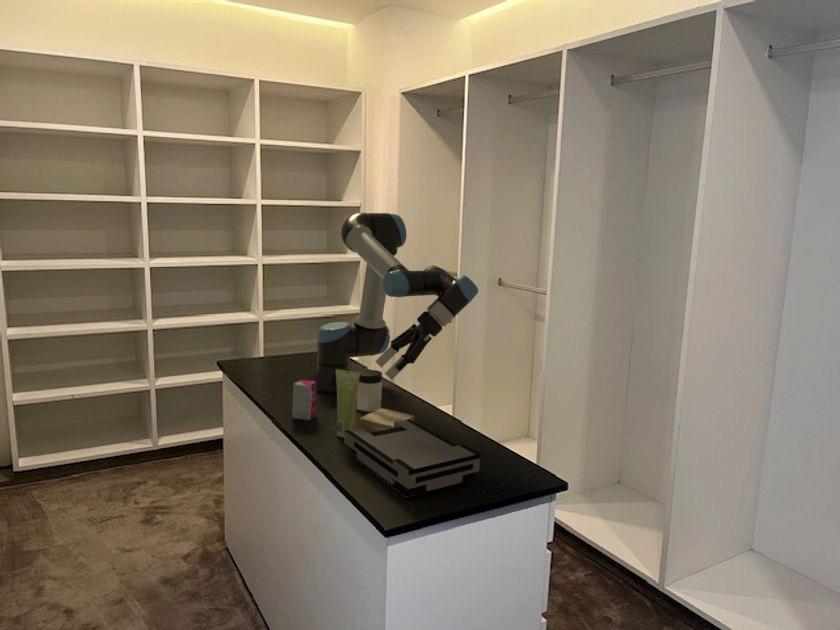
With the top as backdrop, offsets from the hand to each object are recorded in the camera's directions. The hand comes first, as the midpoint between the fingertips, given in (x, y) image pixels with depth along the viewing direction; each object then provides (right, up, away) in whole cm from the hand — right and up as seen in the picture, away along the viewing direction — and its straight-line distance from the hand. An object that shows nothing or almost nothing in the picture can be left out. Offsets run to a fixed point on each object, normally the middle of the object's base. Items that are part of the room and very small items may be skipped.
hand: (382, 370), depth 185 cm
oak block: (+1, -18, +7) cm, 20 cm away
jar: (-6, -15, +27) cm, 31 cm away
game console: (+8, -24, -20) cm, 32 cm away
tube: (-11, -19, +1) cm, 22 cm away
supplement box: (-25, -16, +14) cm, 33 cm away
